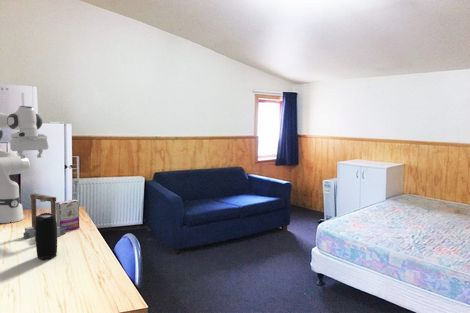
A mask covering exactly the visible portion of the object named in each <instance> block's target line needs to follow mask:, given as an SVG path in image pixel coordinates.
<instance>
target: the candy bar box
mask: <svg viewBox="0 0 470 313" xmlns="http://www.w3.org/2000/svg"><path fill="white" fill-rule="evenodd" d="M79 203H80V202H79V200H77V199H70V200H64V201H63V200H62V201H56V223H57V227H60V229H61V228H64V229H65V233H66V232H69V231H75V230H79V229H80V209H79V208H80V206H79Z"/></svg>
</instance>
